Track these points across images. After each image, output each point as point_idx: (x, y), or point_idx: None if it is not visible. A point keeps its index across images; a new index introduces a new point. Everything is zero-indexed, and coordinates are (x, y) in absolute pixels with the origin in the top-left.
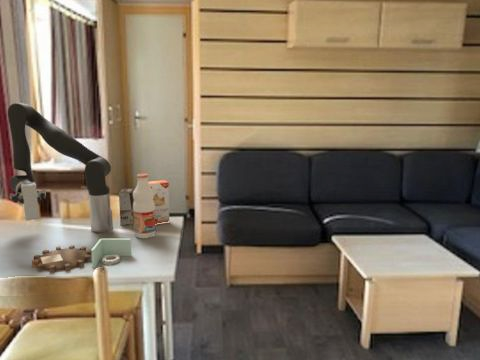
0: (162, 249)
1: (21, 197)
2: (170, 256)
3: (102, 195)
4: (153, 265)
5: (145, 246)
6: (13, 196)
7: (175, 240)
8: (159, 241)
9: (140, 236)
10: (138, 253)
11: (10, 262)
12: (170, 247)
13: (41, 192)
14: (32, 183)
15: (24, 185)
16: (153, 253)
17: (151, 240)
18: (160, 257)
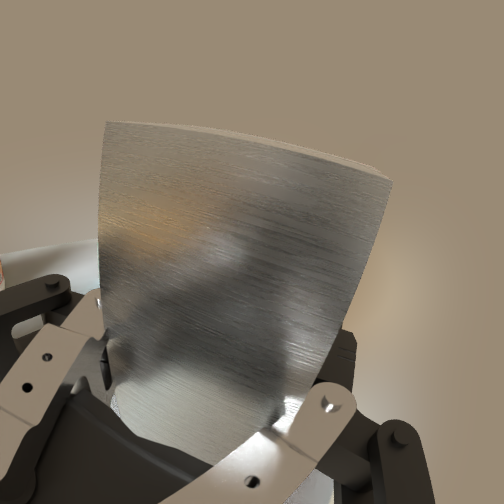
0: (61, 254)
1: (334, 343)
2: (90, 241)
3: None
4: None
5: (49, 274)
6: (419, 440)
7: (16, 252)
8: (21, 266)
9: (4, 288)
10: (88, 272)
11: (319, 473)
12: (50, 249)
13: (30, 301)
14: (194, 127)
15: (340, 157)
16: (82, 257)
17: (15, 276)
18: (97, 248)
